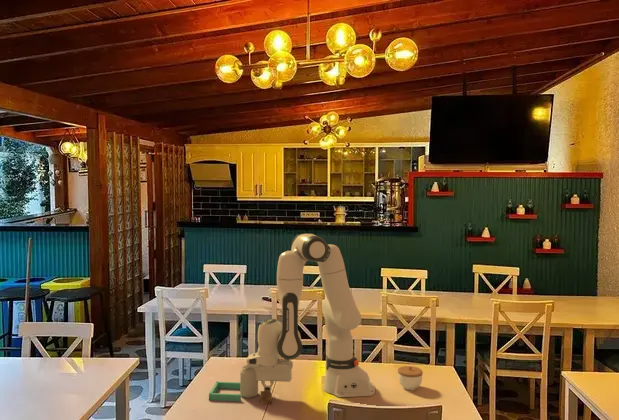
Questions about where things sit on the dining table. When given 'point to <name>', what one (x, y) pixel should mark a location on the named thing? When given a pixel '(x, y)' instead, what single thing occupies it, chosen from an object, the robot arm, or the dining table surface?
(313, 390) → the dining table surface
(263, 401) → the walnut block
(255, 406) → the dining table surface
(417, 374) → the lidded jar
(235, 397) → the corral
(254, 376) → the can
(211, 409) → the dining table surface
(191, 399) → the dining table surface
